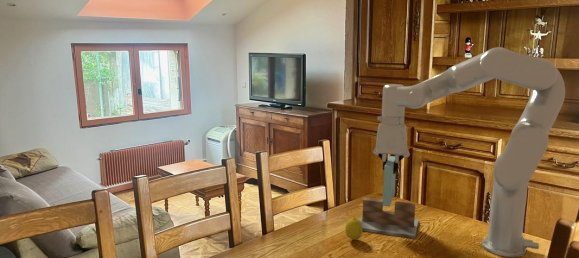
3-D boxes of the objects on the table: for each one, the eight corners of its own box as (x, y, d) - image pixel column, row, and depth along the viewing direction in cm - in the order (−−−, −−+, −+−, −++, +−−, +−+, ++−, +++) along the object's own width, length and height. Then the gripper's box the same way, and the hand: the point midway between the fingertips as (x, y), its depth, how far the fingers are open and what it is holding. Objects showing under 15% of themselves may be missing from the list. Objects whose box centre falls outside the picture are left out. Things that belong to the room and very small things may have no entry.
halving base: (418, 221, 158) (419, 198, 156) (415, 238, 144) (416, 213, 143) (363, 214, 165) (364, 191, 163) (355, 229, 151) (356, 205, 149)
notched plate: (389, 206, 146) (391, 166, 143) (382, 205, 147) (384, 166, 144) (394, 193, 159) (396, 156, 156) (388, 192, 160) (389, 156, 157)
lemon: (356, 235, 146) (357, 213, 145) (365, 242, 141) (365, 219, 140) (342, 238, 145) (342, 215, 143) (350, 245, 139) (350, 222, 138)
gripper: (367, 121, 147) (365, 173, 150) (416, 124, 141) (413, 178, 145) (371, 117, 154) (369, 167, 157) (417, 120, 148) (414, 171, 152)
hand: (390, 172), depth 151 cm, fingers closed on notched plate, 2 cm apart
